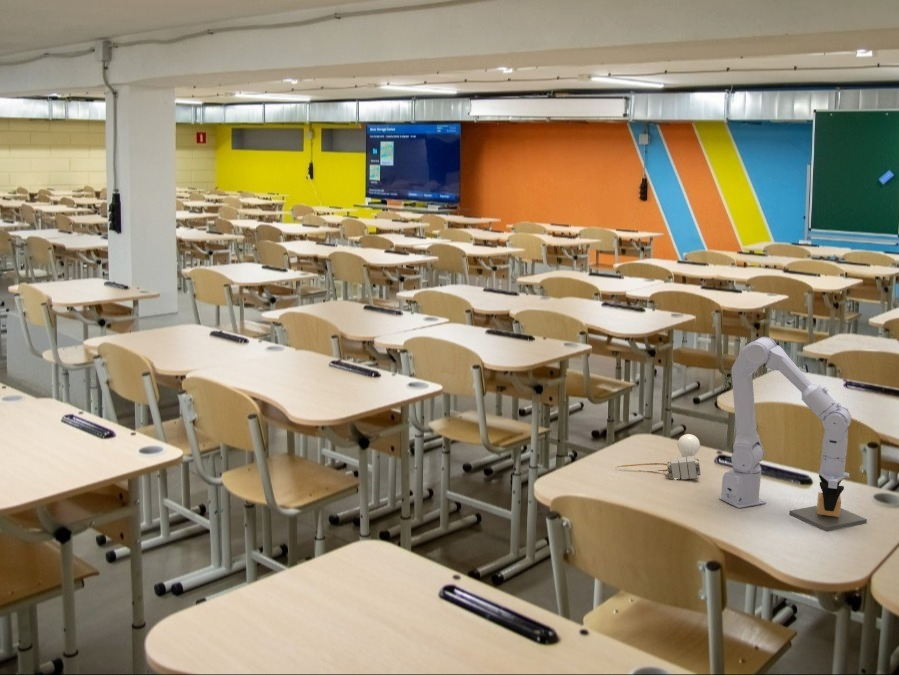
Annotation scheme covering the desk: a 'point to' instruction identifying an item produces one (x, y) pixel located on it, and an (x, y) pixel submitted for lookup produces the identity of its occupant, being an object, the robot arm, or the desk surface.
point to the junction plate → (827, 518)
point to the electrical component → (679, 467)
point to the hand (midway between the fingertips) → (828, 506)
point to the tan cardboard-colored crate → (822, 511)
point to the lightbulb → (688, 445)
